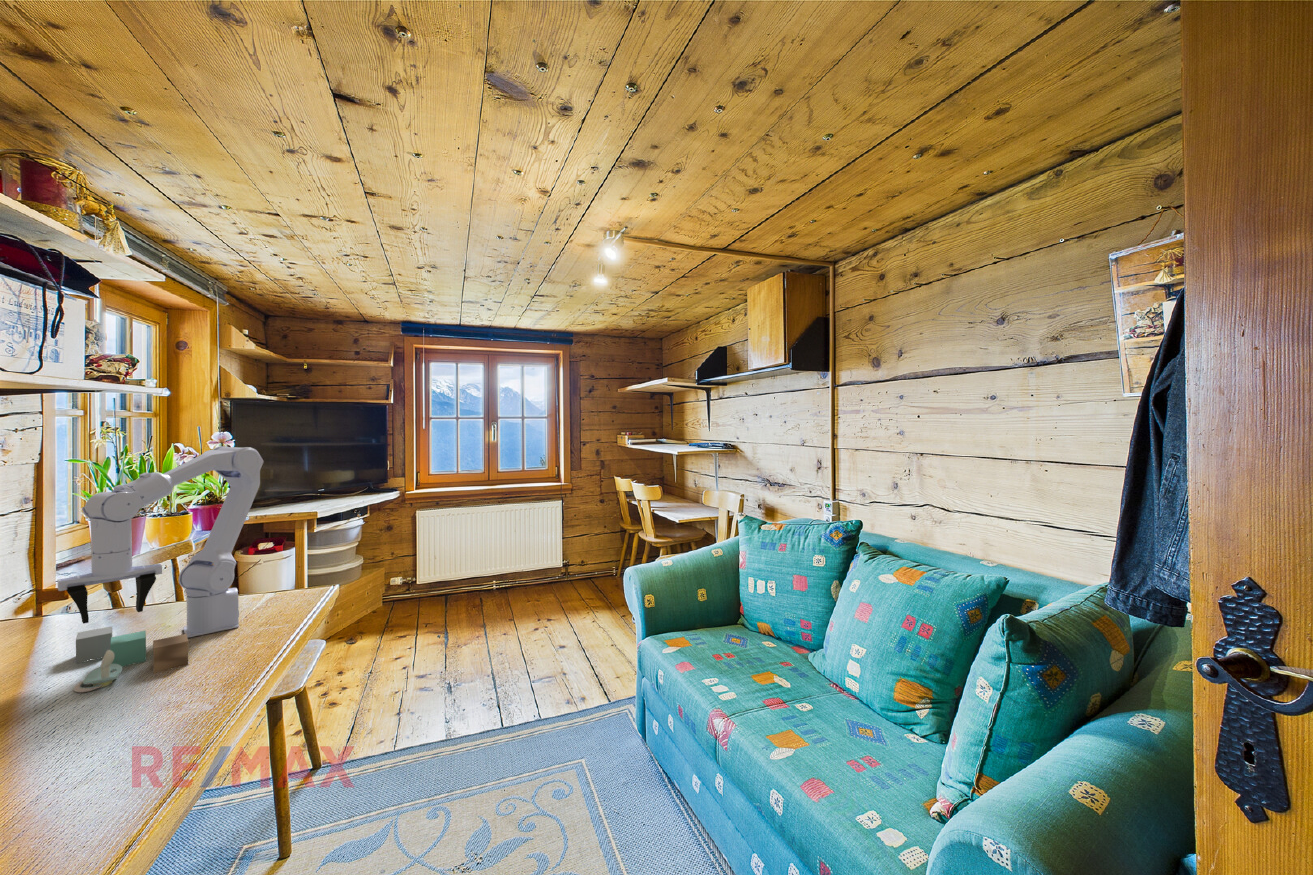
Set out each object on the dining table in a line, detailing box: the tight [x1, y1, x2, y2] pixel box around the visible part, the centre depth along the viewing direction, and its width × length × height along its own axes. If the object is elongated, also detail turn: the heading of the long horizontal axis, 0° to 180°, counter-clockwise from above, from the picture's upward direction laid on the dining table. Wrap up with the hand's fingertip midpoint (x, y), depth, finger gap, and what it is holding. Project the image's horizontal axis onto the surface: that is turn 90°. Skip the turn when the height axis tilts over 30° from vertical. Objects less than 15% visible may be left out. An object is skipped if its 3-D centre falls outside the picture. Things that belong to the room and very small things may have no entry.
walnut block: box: [152, 633, 189, 674], centre depth 104 cm, size 5×5×5 cm
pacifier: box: [73, 650, 123, 693], centre depth 96 cm, size 7×6×6 cm
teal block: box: [111, 630, 147, 667], centre depth 106 cm, size 5×5×5 cm
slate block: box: [75, 625, 113, 664], centre depth 107 cm, size 5×5×5 cm
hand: (113, 616), depth 105 cm, fingers open, 7 cm apart
